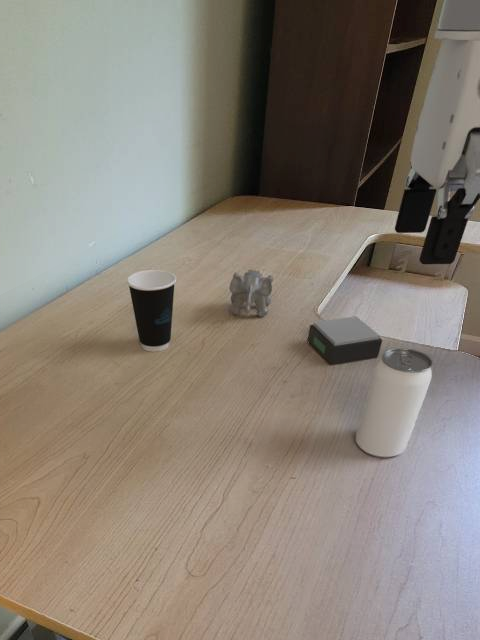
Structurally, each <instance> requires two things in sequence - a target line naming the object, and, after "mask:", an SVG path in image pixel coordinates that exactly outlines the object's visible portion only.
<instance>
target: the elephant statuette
mask: <svg viewBox="0 0 480 640" xmlns="http://www.w3.org/2000/svg"><path fill="white" fill-rule="evenodd" d="M273 282H274V277H273V275H272V274H269V275H268V276H264V277H263V274H262V272H260V270H259V269H258V270H257V269H248V270H247V271H246V272H244V274H243V276H242V275H240V274H239V273H238V272H235V273H234V274H233V275H232V279H231V280H230V282H229V291H230V293H231V295H230V302H231V303H232V305H230V306H229V312H230V313H231V314H233V315H235V316H237V315H240V313H241V309H242V306H243V305H244V304H245V307H244V313H245V314H246V315H248V314H250V311H251V304H253V303H254V305H255V307H256V314H257V316H258V317H260V318H264V317H265V316H267V315H268V314H269V308H268V307H269V306H270V305H271V302H272V297H271V294H272V291H273Z"/></svg>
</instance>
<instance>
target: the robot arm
mask: <svg viewBox="0 0 480 640" xmlns="http://www.w3.org/2000/svg"><path fill="white" fill-rule="evenodd" d="M433 38H434V39H435V40H442V41H441V44H440V47H439V50H438V52H437V57H436V60H435V63H434V66H433V69H432V72H431V76H430V78H429V82H428V85H427V86H428V87H427V90H426V93H425V96H424V100H423V104H422V107H421V111H420V116H419V119H418V122H417V126H416V129H415V130H416V131H415V135H414V139H413V144H412V148H411V154H410V162H409V165H410V170H409V172H408V175H407V177H406V179H405V185H404V186H405V187H404V190H403V193H402V197H401V201H400V205H399V210H398V213H397V217H396V221H395V225H394V231H395V232H396V233H397V234H411V233H412V234H421V233H424V232H425V231H426V229H427V232H426V235H425V238H424V242H423V245H422V248H421V251H420V254H419V263H421V264H422V265H451V264H453V263H454V262H455V259H456V257H457V254H458V251H459V248H460V245H461V242H462V240H463V237H464V234H465V230H466V228H467V224H468V223H469V222H468V221H469V219H470V218H472V215H473V213H474V210H475V209H474V208H475V206H476V204H477V203H478V202H479V200H480V0H442V4H441V8H440V12H439V16H438V19H437V24H436V29H435V33H434V37H433ZM451 192H455V193H454V194H453V195H452V196H451V197H450V193H451ZM436 194H437V205H436V206H437V207H436V215H432V216H431V218H430V215H431V212H432V208H433V204H434V201H435V198H436ZM429 218H430V221H429ZM428 221H429V225H428ZM427 226H428V228H427Z"/></svg>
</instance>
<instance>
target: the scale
mask: <svg viewBox="0 0 480 640" xmlns="http://www.w3.org/2000/svg"><path fill="white" fill-rule="evenodd" d="M307 341H308V342H309V343H308V342H307V343H308V345H309V346H310V347H311V346H312V347H313V348H314V349H315V350H314V349H313V348H312V347H311V348H312V349H313V350H314V351H315V352H316V353H317V354H318V355H319V356H320V357H321V358H322V359H323V361H325V362H326V363H327V364H328V365H329V366H333V365H340V364H347V363H353V362H359V361H366V360H371V359H377V358H378V357H379V354H380V350H381V347H382V343H383V339H382V338H381V337H380V334H379V333H377V332H376V330H375V331H374V329H372V327H370V326H369V325H367V323H365V321H363V320H361V319H360V318H359V317H358V316H356V315H354V316H348V317H340V318H333V319H327V320H319V321H314V322H313V324H310V325H309V329H308V336H307Z"/></svg>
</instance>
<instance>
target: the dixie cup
mask: <svg viewBox="0 0 480 640" xmlns="http://www.w3.org/2000/svg"><path fill="white" fill-rule="evenodd" d="M176 282H177V276H176V275H175V274H174V273H172V272H170V271H167V270H163V269H162V270H161V269H146V270H140V271H137V272H134V273H132V274H130V275H129V276H128V277H127V278H126V284H127V286H128V287H129V293H130V298H131V303H132V304H131V305H132V309H133V315H134V320H135V325H136V330H137V335H138V340H139V341H138V342H140V344H141V349H142V350H144V351H147V352H154V353H156V352H157V353H158V352H162V351H165V350H167V349H168V348H169V346H170V341H171V338H172V326H173V325H172V323H173V309H174V297H175V284H176Z"/></svg>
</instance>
